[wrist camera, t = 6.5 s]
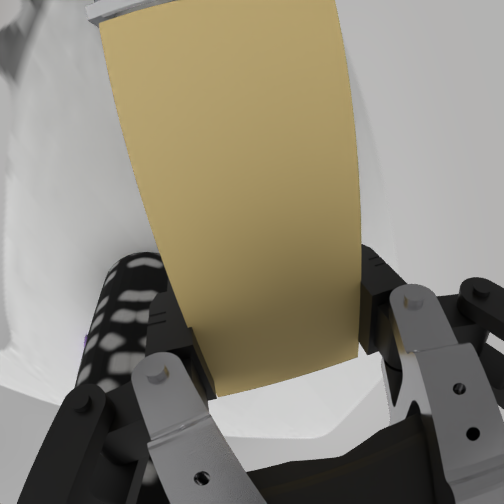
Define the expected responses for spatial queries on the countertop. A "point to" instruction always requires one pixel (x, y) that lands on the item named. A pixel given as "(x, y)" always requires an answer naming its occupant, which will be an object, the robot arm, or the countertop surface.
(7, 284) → the countertop surface
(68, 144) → the countertop surface
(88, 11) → the dispenser
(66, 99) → the countertop surface
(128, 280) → the white-spotted black cylinder
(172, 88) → the wooden block
